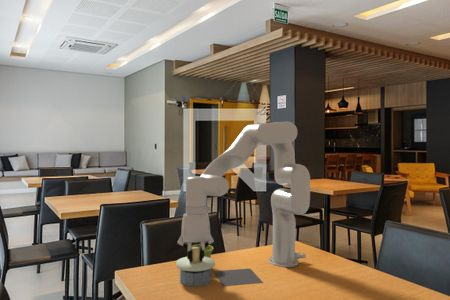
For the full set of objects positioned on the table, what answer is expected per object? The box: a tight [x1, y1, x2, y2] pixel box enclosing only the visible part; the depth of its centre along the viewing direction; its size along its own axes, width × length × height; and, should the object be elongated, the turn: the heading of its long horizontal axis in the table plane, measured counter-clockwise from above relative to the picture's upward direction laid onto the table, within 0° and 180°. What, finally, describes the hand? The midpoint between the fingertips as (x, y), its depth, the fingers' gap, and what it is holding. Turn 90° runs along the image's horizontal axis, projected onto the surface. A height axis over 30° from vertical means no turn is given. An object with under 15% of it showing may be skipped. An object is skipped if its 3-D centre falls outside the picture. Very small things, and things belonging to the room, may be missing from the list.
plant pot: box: [191, 243, 214, 258], centre depth 143 cm, size 9×9×9 cm
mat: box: [213, 268, 264, 287], centre depth 134 cm, size 15×15×1 cm
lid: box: [175, 247, 216, 272], centre depth 130 cm, size 14×14×6 cm
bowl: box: [179, 268, 212, 287], centre depth 130 cm, size 11×11×5 cm
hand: (195, 260), depth 130 cm, fingers closed on lid, 3 cm apart
